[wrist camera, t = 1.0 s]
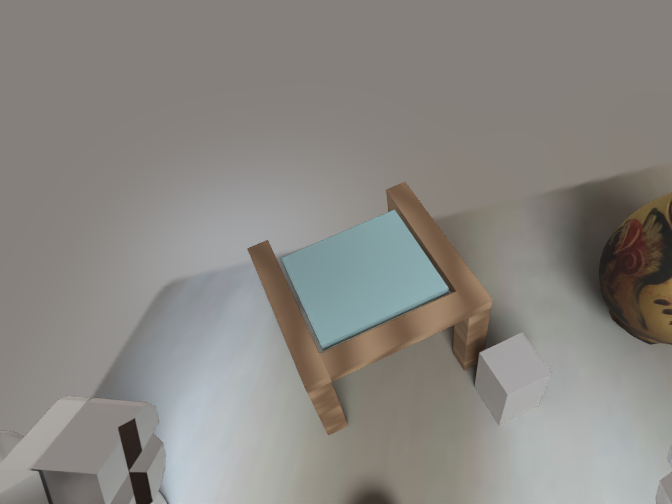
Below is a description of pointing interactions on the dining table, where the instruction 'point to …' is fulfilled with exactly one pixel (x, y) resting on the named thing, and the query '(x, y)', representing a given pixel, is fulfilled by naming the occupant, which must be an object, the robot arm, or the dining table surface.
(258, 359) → the dining table surface
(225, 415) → the dining table surface
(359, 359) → the trapdoor frame
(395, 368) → the dining table surface
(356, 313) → the trapdoor
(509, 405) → the light grey block
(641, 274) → the ceramic jug
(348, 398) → the dining table surface
